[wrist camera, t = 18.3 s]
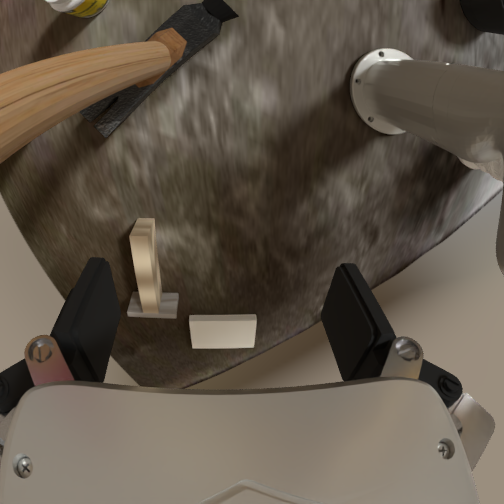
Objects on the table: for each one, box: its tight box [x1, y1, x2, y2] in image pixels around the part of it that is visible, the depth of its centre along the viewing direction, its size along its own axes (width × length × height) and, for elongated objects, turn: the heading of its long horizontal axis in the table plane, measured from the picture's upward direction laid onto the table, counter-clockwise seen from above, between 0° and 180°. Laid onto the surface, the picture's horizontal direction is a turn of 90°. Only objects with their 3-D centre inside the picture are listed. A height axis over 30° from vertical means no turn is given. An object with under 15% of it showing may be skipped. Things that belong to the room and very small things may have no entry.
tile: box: [189, 314, 257, 348], centre depth 54 cm, size 12×2×8 cm
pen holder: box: [460, 0, 504, 35], centre depth 19 cm, size 9×9×10 cm
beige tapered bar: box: [127, 218, 179, 318], centre depth 42 cm, size 15×8×5 cm, turn 175°
